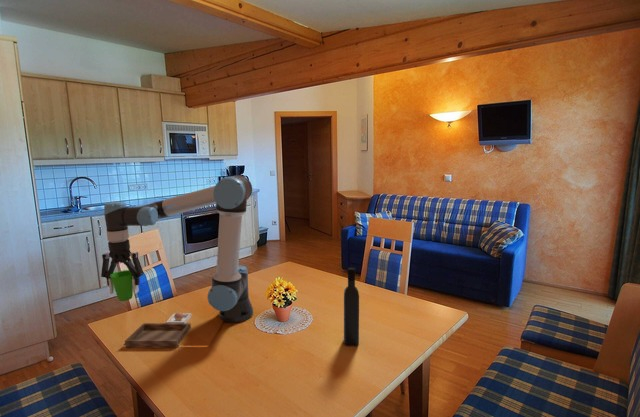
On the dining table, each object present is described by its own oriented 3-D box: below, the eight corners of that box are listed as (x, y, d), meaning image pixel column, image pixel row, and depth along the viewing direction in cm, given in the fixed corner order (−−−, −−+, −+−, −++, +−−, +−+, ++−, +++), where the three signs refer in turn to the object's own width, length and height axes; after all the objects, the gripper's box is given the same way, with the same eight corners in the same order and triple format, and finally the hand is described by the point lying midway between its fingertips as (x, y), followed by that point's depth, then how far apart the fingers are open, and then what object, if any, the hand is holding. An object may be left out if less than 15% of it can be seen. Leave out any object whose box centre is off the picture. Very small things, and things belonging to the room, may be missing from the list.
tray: (191, 329, 147) (190, 323, 147) (177, 347, 133) (176, 340, 133) (144, 329, 148) (143, 323, 147) (125, 347, 134) (124, 340, 133)
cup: (127, 303, 140) (123, 277, 138) (107, 302, 142) (104, 276, 140) (142, 294, 149) (139, 270, 147) (124, 293, 151) (121, 269, 149)
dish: (191, 317, 158) (191, 313, 158) (184, 325, 150) (184, 321, 150) (174, 317, 158) (173, 313, 158) (166, 325, 150) (165, 322, 150)
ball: (184, 318, 156) (184, 310, 155) (181, 322, 152) (180, 314, 152) (176, 318, 156) (176, 310, 155) (173, 322, 152) (172, 314, 152)
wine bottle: (357, 338, 139) (358, 266, 134) (359, 346, 133) (359, 271, 128) (343, 338, 139) (343, 266, 134) (344, 346, 133) (344, 271, 128)
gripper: (149, 237, 145) (154, 288, 148) (98, 238, 145) (104, 289, 149) (140, 242, 137) (145, 295, 141) (85, 242, 138) (92, 296, 142)
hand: (124, 292), depth 145 cm, fingers closed on cup, 9 cm apart
